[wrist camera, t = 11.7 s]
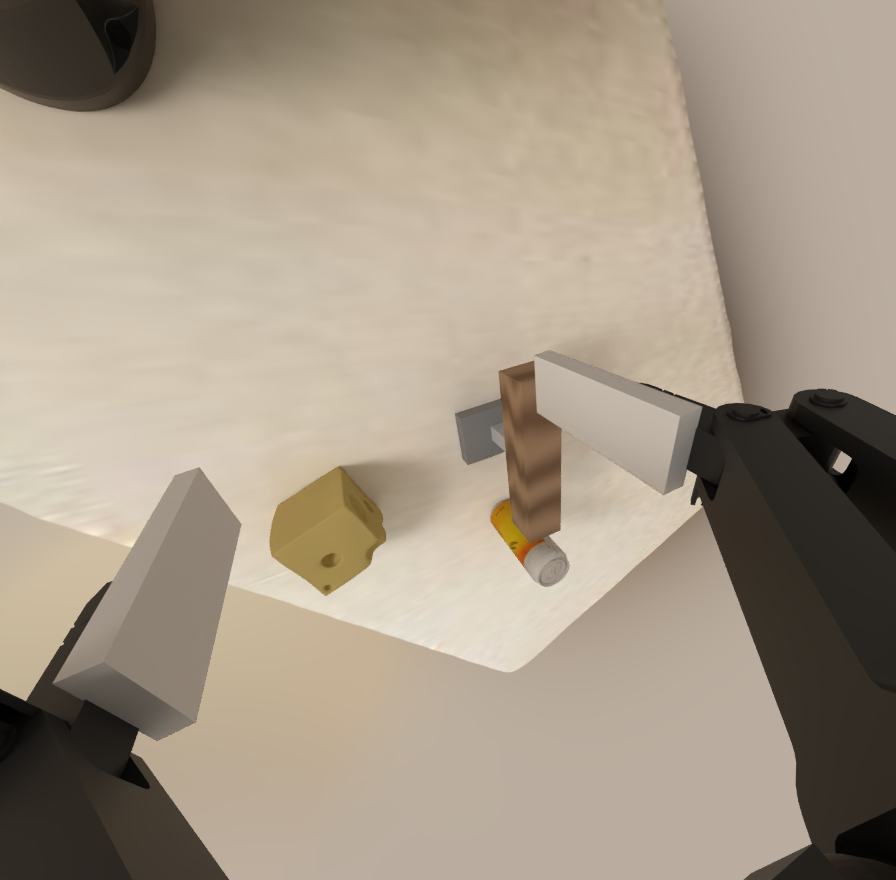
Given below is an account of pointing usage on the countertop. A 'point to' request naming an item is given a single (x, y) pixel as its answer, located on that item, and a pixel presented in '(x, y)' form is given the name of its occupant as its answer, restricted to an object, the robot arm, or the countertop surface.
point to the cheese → (327, 531)
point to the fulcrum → (481, 432)
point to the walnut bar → (530, 455)
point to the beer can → (531, 549)
